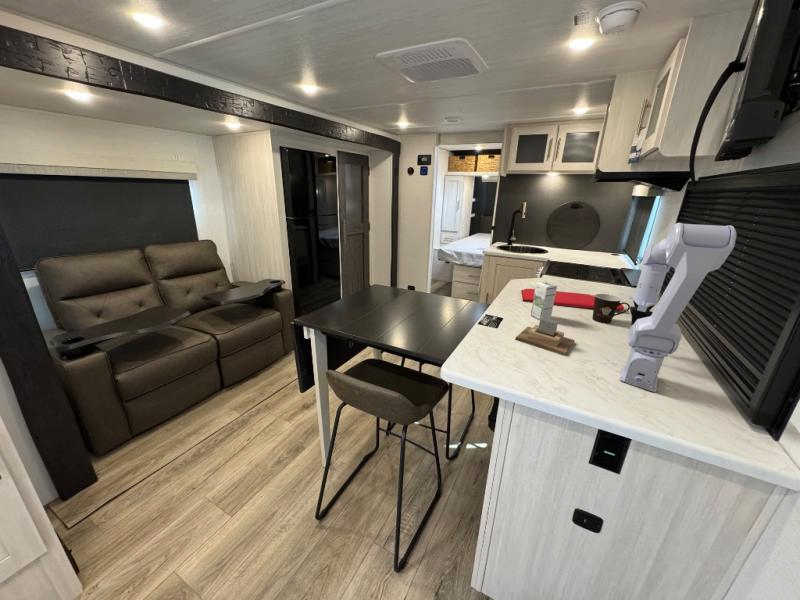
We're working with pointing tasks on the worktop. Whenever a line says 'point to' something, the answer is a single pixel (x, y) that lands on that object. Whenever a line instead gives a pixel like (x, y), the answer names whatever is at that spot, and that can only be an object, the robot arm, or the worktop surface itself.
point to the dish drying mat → (567, 299)
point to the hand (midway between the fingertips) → (636, 326)
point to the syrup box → (543, 300)
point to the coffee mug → (606, 308)
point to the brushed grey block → (547, 326)
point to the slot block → (546, 340)
